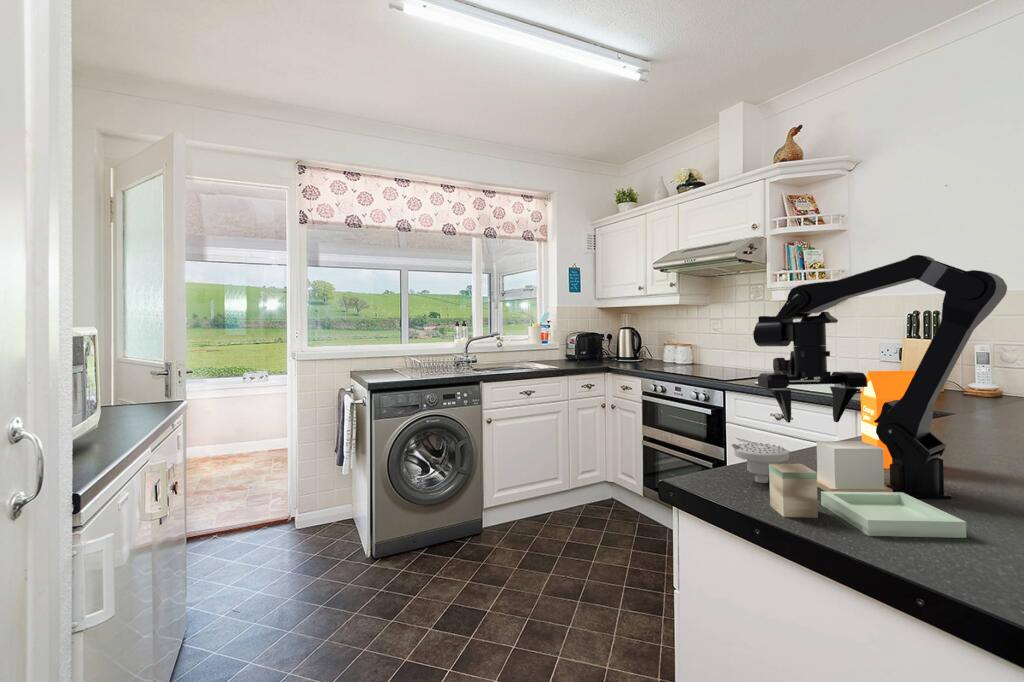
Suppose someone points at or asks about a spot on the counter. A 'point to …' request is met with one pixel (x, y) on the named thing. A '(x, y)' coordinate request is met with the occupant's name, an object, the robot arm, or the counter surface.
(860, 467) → the butter dish
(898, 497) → the parts tray
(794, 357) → the robot arm
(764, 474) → the showerhead
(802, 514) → the block
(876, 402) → the orange juice
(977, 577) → the counter surface
